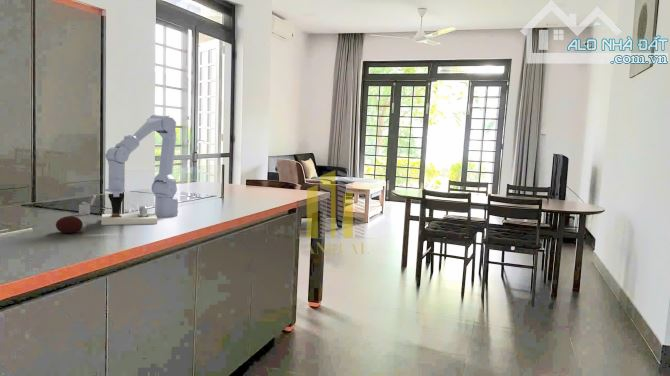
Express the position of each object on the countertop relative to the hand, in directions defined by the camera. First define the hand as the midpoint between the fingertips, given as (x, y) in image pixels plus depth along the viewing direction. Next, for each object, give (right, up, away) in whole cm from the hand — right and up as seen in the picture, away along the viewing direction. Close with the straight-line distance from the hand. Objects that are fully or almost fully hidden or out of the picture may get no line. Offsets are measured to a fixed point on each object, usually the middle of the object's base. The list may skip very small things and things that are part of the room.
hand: (116, 212), depth 186 cm
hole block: (+4, -5, +3) cm, 7 cm away
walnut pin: (0, -3, 0) cm, 3 cm away
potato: (-8, -7, -18) cm, 21 cm away
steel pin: (+9, -4, +5) cm, 11 cm away
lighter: (-19, -2, +16) cm, 25 cm away
